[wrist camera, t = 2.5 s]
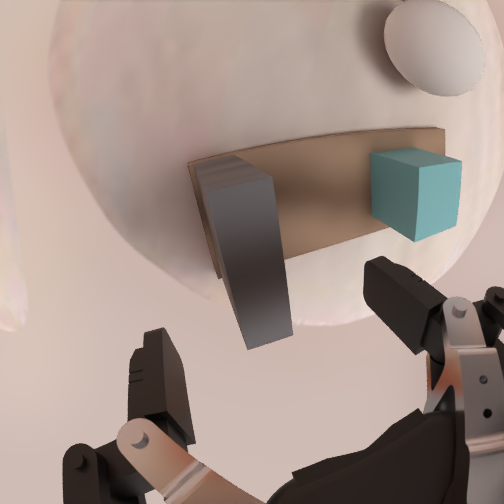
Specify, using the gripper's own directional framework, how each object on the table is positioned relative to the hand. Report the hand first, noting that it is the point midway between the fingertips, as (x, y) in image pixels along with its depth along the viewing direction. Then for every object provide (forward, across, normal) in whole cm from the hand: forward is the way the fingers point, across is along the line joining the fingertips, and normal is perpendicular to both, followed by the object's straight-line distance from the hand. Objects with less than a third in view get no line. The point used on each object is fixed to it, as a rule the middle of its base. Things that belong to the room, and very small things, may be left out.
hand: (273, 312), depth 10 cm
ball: (+10, -17, -12) cm, 22 cm away
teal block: (+9, -14, 0) cm, 16 cm away
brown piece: (+10, -10, 0) cm, 14 cm away
